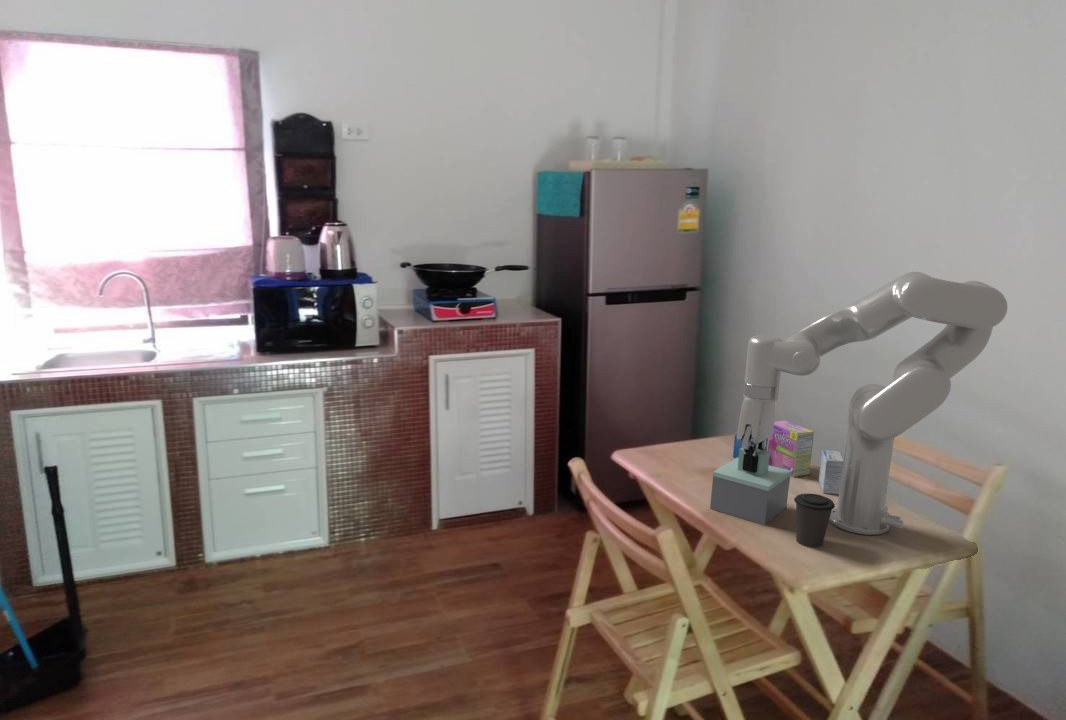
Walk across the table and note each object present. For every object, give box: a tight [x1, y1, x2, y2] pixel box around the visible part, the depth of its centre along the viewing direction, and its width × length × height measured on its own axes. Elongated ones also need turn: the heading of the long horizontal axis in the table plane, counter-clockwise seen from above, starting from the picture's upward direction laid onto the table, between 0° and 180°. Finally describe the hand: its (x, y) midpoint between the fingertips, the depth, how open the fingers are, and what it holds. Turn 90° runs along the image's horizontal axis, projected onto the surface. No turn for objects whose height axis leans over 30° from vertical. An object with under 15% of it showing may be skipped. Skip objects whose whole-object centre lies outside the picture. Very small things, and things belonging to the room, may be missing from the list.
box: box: [767, 420, 815, 478], centre depth 213 cm, size 10×6×12 cm, turn 25°
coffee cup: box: [793, 493, 836, 548], centre depth 170 cm, size 8×8×10 cm
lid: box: [712, 448, 791, 491], centre depth 185 cm, size 13×13×7 cm
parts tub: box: [709, 475, 791, 526], centre depth 187 cm, size 13×13×8 cm
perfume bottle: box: [732, 433, 769, 459], centre depth 220 cm, size 6×6×12 cm
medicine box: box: [818, 450, 844, 496], centre depth 201 cm, size 8×4×9 cm, turn 168°
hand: (752, 468), depth 186 cm, fingers closed on lid, 3 cm apart
